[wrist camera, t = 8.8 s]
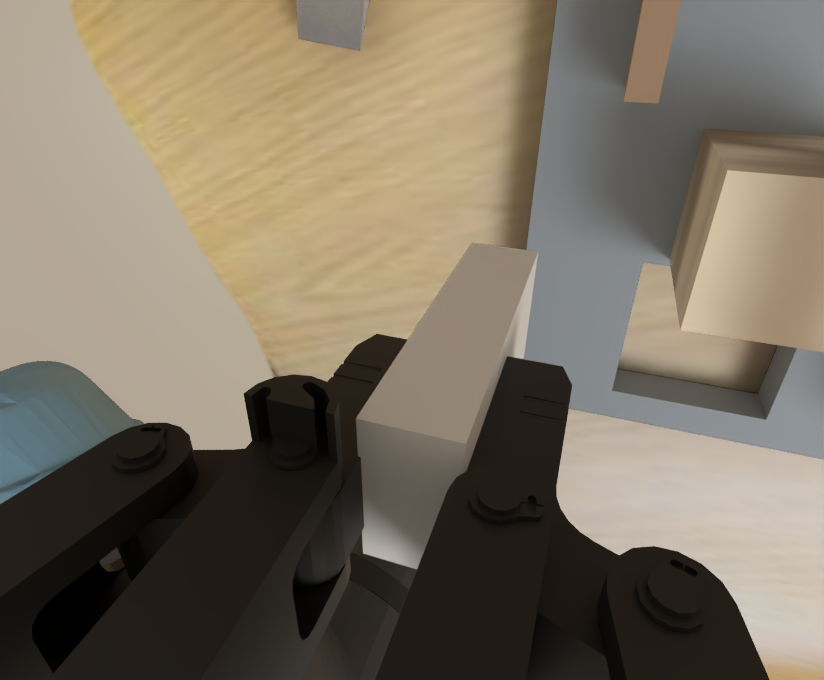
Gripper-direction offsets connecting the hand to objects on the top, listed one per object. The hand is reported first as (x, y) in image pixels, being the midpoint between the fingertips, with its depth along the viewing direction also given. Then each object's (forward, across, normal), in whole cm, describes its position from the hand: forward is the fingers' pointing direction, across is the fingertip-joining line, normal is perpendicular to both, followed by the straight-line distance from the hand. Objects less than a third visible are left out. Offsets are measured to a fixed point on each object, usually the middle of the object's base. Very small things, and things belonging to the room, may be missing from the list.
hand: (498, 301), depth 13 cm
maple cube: (+12, +7, 0) cm, 14 cm away
